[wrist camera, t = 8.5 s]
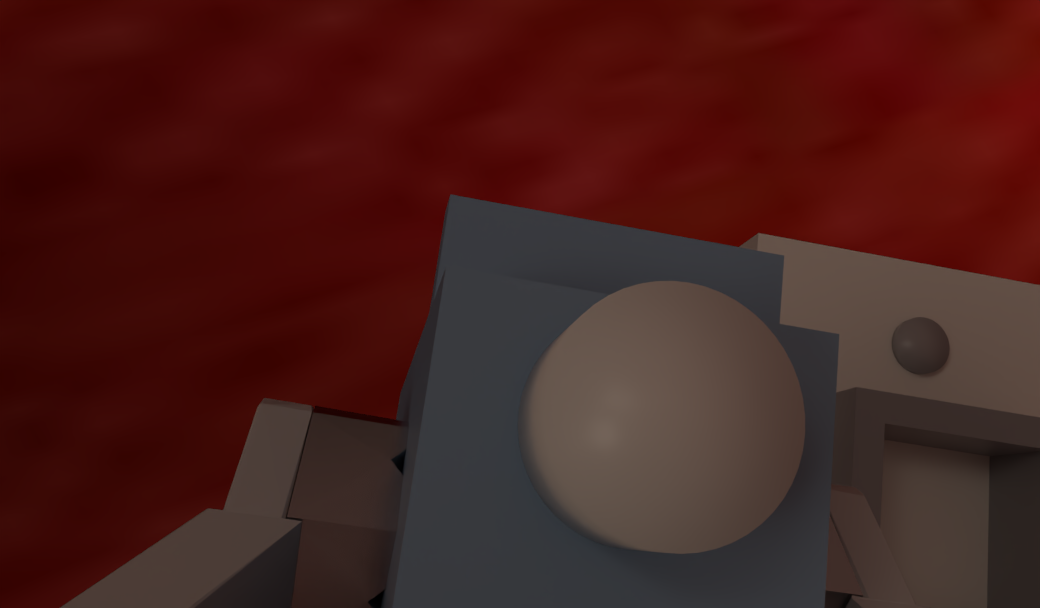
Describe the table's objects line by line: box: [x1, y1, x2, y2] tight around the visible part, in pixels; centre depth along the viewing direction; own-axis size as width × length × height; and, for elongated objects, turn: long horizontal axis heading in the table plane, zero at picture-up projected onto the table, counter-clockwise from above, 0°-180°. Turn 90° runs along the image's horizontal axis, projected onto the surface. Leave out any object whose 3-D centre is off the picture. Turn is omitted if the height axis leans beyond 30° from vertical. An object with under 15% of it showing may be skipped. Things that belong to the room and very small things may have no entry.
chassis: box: [740, 233, 1040, 608], centre depth 26 cm, size 16×10×4 cm, turn 172°
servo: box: [381, 195, 839, 608], centre depth 10 cm, size 6×3×8 cm, turn 172°
